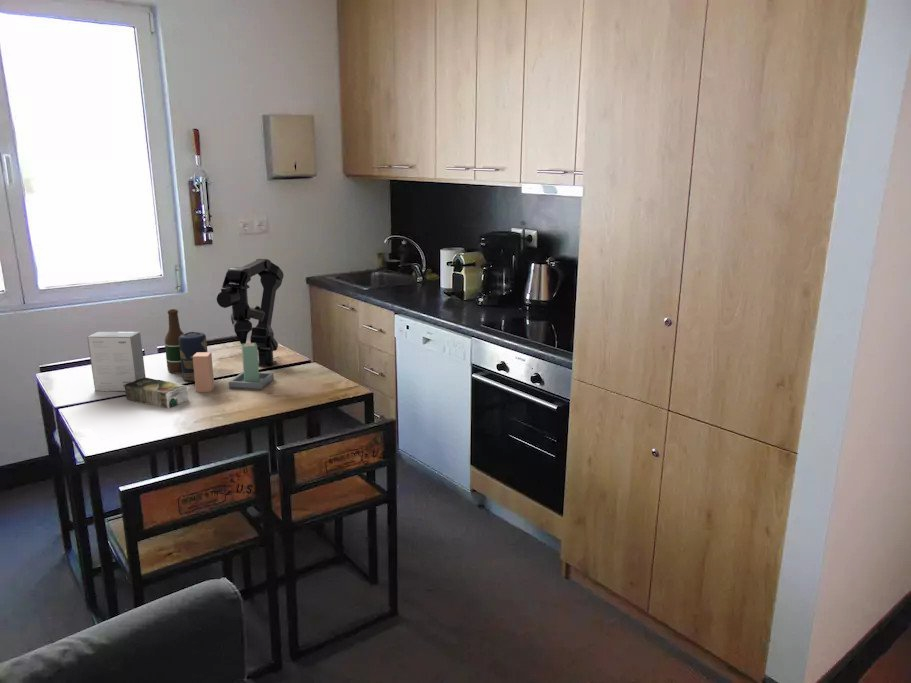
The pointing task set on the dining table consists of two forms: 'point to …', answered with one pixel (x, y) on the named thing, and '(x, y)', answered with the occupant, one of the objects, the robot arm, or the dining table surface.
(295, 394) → the dining table surface
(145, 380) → the juice carton
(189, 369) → the canister
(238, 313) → the robot arm
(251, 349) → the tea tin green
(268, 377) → the tray
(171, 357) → the beer bottle
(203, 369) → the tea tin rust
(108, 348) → the hard drive box
